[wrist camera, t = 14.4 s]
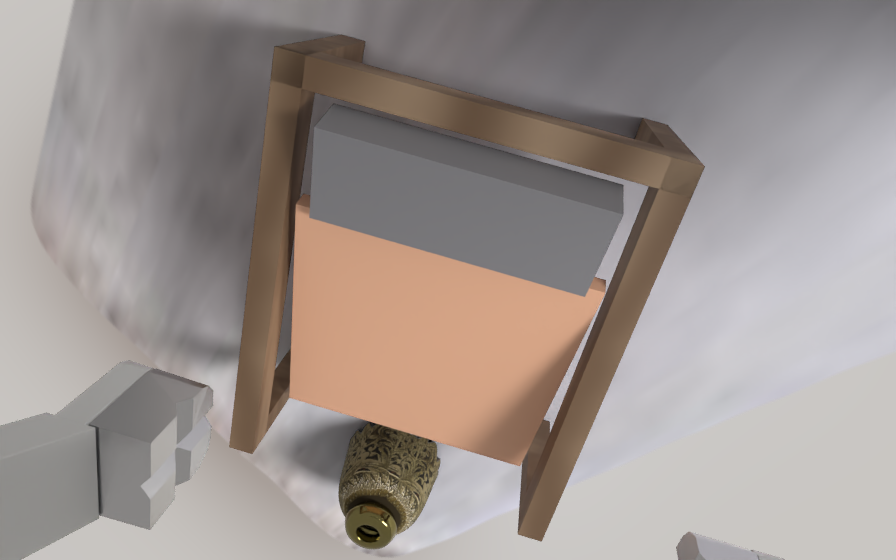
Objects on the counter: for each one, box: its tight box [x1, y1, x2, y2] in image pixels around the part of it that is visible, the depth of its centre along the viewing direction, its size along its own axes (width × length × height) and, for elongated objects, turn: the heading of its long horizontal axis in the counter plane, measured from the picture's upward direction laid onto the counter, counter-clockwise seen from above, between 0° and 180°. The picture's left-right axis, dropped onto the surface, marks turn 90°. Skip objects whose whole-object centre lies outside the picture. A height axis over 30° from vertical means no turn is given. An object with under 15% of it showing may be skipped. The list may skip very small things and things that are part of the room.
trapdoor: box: [289, 104, 623, 466], centre depth 35 cm, size 16×21×2 cm
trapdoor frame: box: [229, 35, 705, 541], centre depth 38 cm, size 20×24×10 cm
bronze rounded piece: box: [339, 423, 440, 549], centre depth 46 cm, size 8×7×8 cm
